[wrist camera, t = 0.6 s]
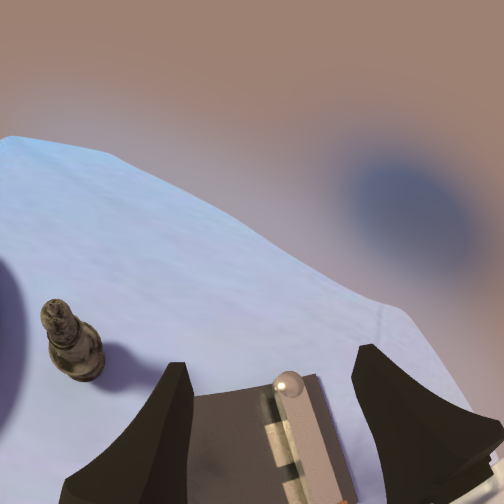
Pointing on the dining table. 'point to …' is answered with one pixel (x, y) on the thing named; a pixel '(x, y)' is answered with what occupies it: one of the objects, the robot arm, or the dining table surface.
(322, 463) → the swing arm
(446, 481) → the robot arm
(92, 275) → the dining table surface
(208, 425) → the label panel
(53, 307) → the grey tall carved piece
